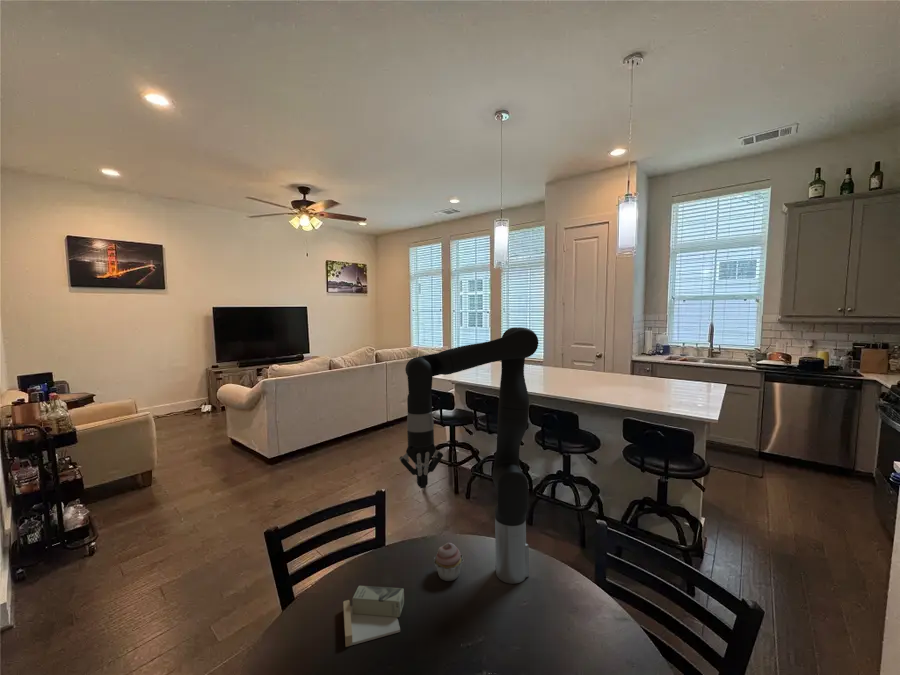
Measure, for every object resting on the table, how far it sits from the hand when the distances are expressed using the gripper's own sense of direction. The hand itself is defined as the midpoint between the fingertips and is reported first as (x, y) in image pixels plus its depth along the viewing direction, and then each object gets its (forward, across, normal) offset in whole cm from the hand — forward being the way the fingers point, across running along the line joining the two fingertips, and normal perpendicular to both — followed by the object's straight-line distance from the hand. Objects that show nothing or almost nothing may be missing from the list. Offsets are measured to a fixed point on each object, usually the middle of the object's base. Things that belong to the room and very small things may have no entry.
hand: (422, 487), depth 106 cm
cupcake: (+30, -8, -3) cm, 31 cm away
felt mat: (+30, +16, +6) cm, 34 cm away
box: (+27, +8, +7) cm, 29 cm away
